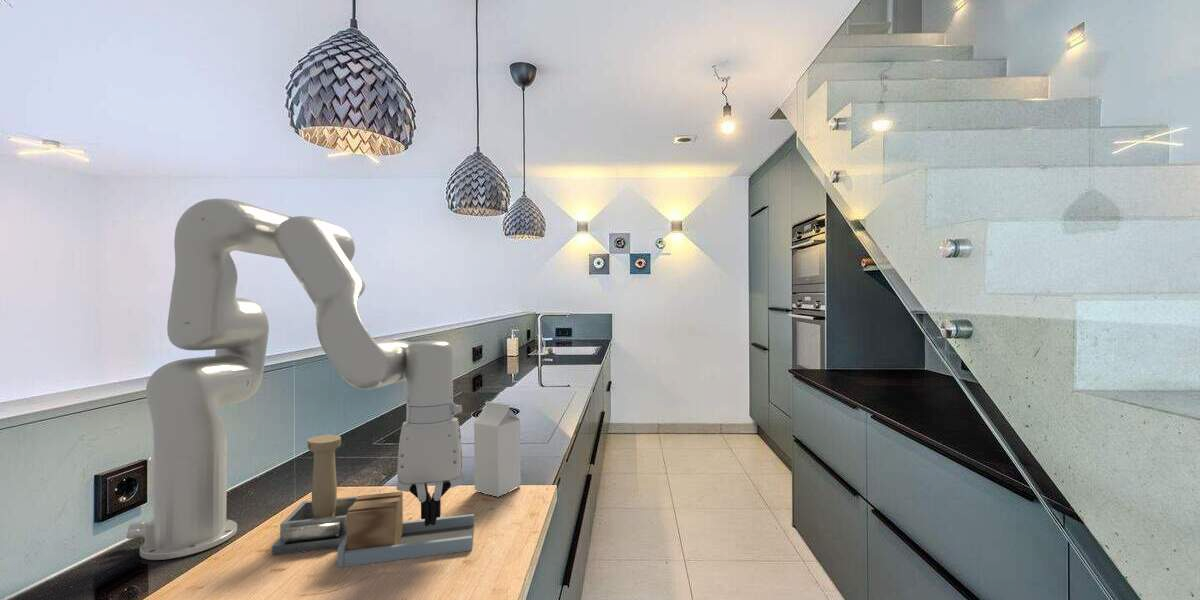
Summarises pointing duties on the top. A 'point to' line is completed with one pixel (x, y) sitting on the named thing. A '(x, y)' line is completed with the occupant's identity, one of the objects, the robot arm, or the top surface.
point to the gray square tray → (313, 529)
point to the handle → (324, 474)
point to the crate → (375, 521)
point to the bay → (416, 542)
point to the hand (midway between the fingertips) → (431, 522)
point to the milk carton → (497, 450)
